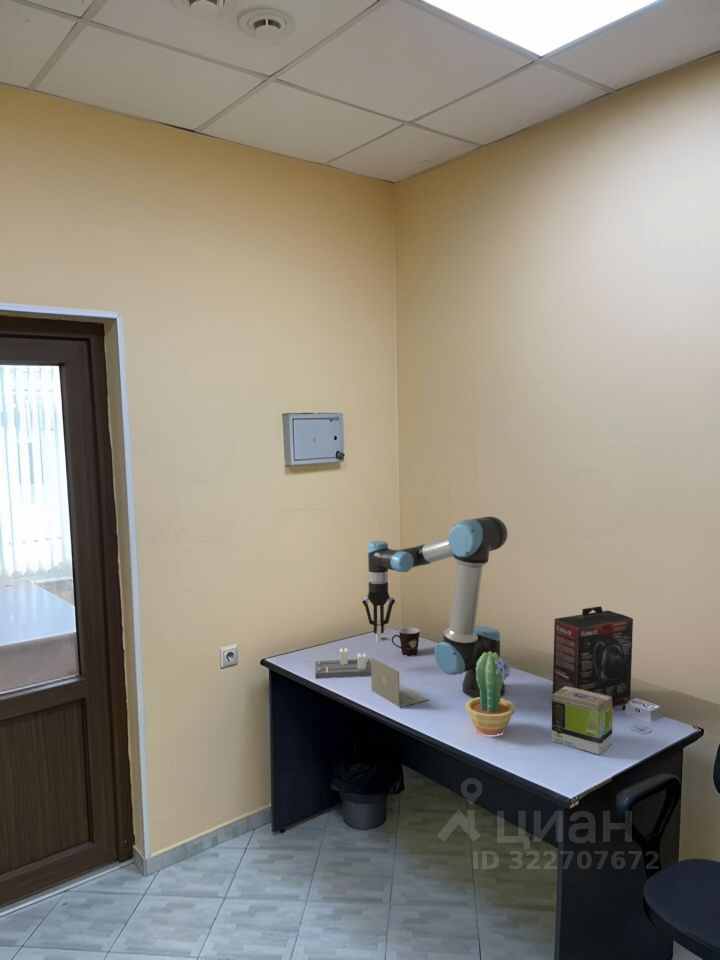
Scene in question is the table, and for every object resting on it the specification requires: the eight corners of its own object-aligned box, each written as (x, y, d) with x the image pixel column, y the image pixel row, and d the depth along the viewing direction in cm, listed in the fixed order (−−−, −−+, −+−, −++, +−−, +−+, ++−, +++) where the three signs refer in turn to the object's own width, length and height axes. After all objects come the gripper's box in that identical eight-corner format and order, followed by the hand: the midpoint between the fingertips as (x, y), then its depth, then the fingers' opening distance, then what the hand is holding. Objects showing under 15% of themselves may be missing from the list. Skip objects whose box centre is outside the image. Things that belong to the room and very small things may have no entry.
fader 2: (366, 669, 268) (365, 656, 268) (358, 669, 268) (358, 656, 268) (365, 665, 272) (365, 653, 272) (357, 666, 272) (357, 653, 272)
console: (373, 675, 267) (373, 669, 267) (315, 678, 266) (315, 672, 265) (370, 663, 281) (369, 657, 281) (315, 665, 279) (315, 659, 279)
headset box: (605, 690, 248) (606, 599, 246) (633, 702, 237) (634, 607, 234) (551, 703, 238) (551, 608, 235) (577, 717, 226) (578, 617, 224)
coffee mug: (420, 650, 296) (419, 627, 295) (419, 657, 287) (419, 633, 286) (392, 650, 297) (392, 627, 296) (391, 657, 288) (391, 633, 287)
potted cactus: (478, 745, 208) (477, 663, 206) (456, 724, 223) (456, 647, 221) (524, 737, 212) (524, 657, 210) (500, 717, 227) (500, 642, 225)
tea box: (613, 744, 207) (613, 695, 206) (599, 756, 199) (599, 706, 198) (565, 730, 217) (565, 684, 216) (550, 741, 209) (550, 693, 208)
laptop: (428, 701, 242) (428, 664, 241) (398, 709, 236) (398, 671, 235) (400, 685, 258) (399, 650, 257) (371, 692, 252) (370, 657, 251)
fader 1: (347, 663, 275) (347, 651, 274) (340, 664, 274) (339, 651, 274) (347, 660, 279) (347, 648, 278) (339, 660, 278) (339, 648, 278)
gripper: (394, 578, 272) (394, 637, 274) (360, 579, 271) (361, 638, 273) (396, 583, 265) (396, 644, 267) (362, 584, 264) (362, 645, 266)
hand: (378, 641), depth 270 cm, fingers closed
